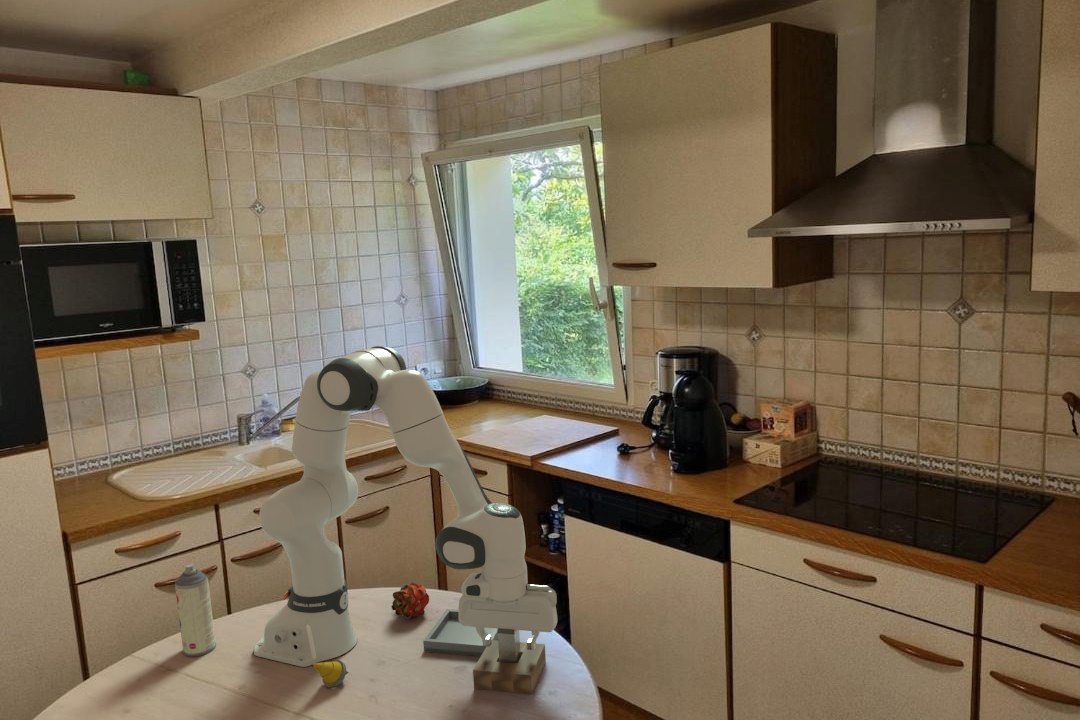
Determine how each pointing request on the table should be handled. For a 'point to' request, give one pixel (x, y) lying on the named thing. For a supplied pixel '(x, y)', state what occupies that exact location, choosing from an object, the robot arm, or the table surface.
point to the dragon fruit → (410, 600)
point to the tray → (455, 636)
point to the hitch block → (509, 670)
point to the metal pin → (509, 645)
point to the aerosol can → (195, 612)
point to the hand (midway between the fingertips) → (509, 646)
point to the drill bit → (331, 672)
